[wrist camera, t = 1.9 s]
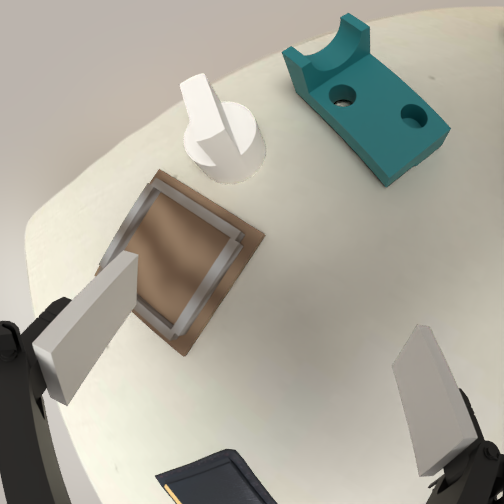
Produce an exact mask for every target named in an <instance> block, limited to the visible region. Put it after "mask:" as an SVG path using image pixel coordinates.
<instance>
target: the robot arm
mask: <svg viewBox="0 0 504 504" xmlns="http://www.w3.org/2000/svg"><path fill="white" fill-rule="evenodd" d="M137 272H138V254H135V253H131V252H128V251H124V250H123V251H122V252H121V253H120V254H119V255H118V256H117V257H116V258H115V259H113V260H112V261H111V262H110V263H109V264H108V265H107V266H106V267H105V268H104V269H103V270H102V271H101V272H100V273H99V274H98V275H97V276H96V277H95V278H94V279H93V280H92V281H91V282H90V283H89V284H88V285H87V286H86V287H85V288H84V289H83V290H82V291H81V292H80V293H79V294H78V295H77V296H76V297H75V298H74V299H73V300H71V299H68V298H66V297H62V298H60V299H58V300H56V301H54V302H52V303H51V304H50V305H49V306H48V307H47V308H46V309H45V312H44V311H43V312H42V313H41V314H40V315H39V318H36V319H35V321H34V322H33V323H32V324H31V325H30V326H29V327H28V328H27V329H26V330H25V331H24V332H23V333H22V334H21V335H20V331H19V328H18V327H17V326H16V325H15V323H12V322H10V321H0V474H1V478H2V483H3V488H4V492H5V497H6V501H7V504H71V501H70V498H69V495H68V493H67V490H66V487H65V484H64V481H63V478H62V475H61V471H60V468H59V464H58V461H57V457H56V454H55V450H54V446H53V443H52V438H51V434H50V430H49V425H48V421H47V416H46V411H45V405H44V400H43V397H42V394H43V392H44V391H45V390H46V388H47V390H48V392H49V395H50V397H51V398H53V399H54V400H56V401H58V402H60V403H62V404H64V405H66V406H68V404H69V403H70V401H71V400H72V398H73V397H74V395H75V393H76V392H77V390H78V389H79V387H80V386H81V384H82V383H83V381H84V380H85V378H86V377H87V375H88V374H89V372H90V371H91V369H92V367H93V366H94V365H95V363H96V362H97V360H98V359H99V357H100V356H101V354H102V353H103V351H104V350H105V348H106V347H107V345H108V344H109V342H110V341H111V340H112V338H113V337H114V335H115V334H116V332H117V331H118V329H119V328H120V327H121V325H122V324H123V322H124V321H125V320H126V318H127V317H128V315H129V314H130V313H131V311H132V310H133V308H134V307H135V306H136V300H137ZM392 368H393V371H394V375H395V378H396V381H397V385H398V389H399V392H400V396H401V400H402V403H403V407H404V411H405V415H406V419H407V423H408V427H409V431H410V435H411V440H412V444H413V449H414V453H415V458H416V463H417V468H418V473H419V477H422V476H433V475H435V474H436V473H437V472H439V471H440V470H441V469H442V468H443V469H444V473H445V474H443V475H442V476H441V477H440V478H438V479H437V480H436V481H434V482H433V483H431V484H430V485H429V487H428V488H431V487H433V486H434V485H436V486H435V488H434V489H433V492H432V494H431V495H430V497H429V499H428V501H427V503H426V504H504V454H500V451H499V449H498V448H497V446H496V445H495V444H494V443H493V442H490V441H485V440H484V437H483V435H482V432H481V429H480V427H479V424H478V422H477V419H476V416H475V415H474V411H473V409H472V408H471V404H470V402H469V399H468V397H467V396H466V395H465V393H464V392H463V391H462V389H460V388H458V386H457V384H456V381H455V379H454V377H453V375H452V372H451V370H450V368H449V366H448V364H447V361H446V359H445V357H444V355H443V353H442V351H441V349H440V347H439V345H438V343H437V341H436V339H435V337H434V335H433V333H432V331H431V329H430V327H428V326H423V325H419V324H417V326H416V327H415V329H414V331H413V332H412V334H411V336H410V337H409V339H408V341H407V342H406V344H405V346H404V347H403V349H402V350H401V352H400V354H399V355H398V357H397V358H396V360H395V361H394V363H393V364H392ZM502 491H503V497H501V498H500V499H498V500H497V495H498V494H499V493H500V492H502Z"/></svg>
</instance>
